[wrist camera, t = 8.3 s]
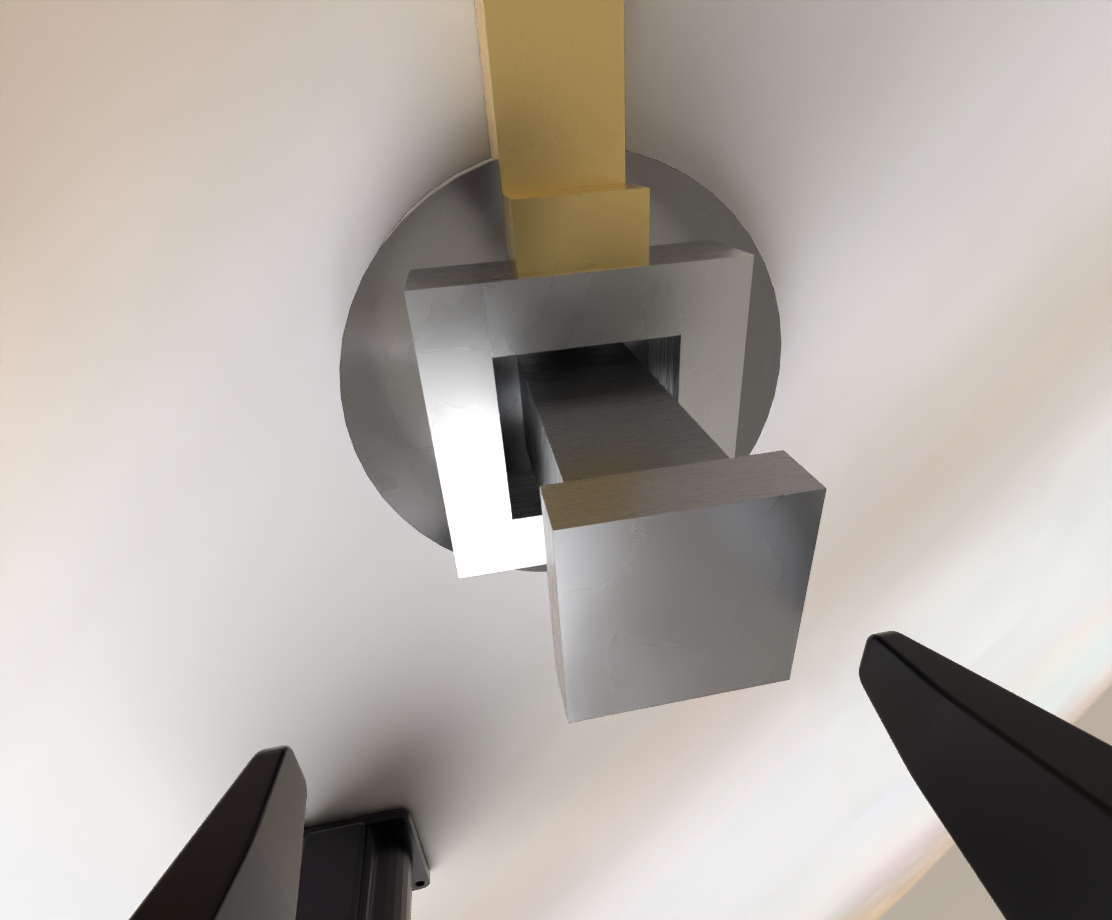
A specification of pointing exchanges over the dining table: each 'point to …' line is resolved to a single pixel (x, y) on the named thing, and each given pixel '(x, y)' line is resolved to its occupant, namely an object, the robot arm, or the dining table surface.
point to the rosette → (545, 290)
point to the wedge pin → (659, 539)
